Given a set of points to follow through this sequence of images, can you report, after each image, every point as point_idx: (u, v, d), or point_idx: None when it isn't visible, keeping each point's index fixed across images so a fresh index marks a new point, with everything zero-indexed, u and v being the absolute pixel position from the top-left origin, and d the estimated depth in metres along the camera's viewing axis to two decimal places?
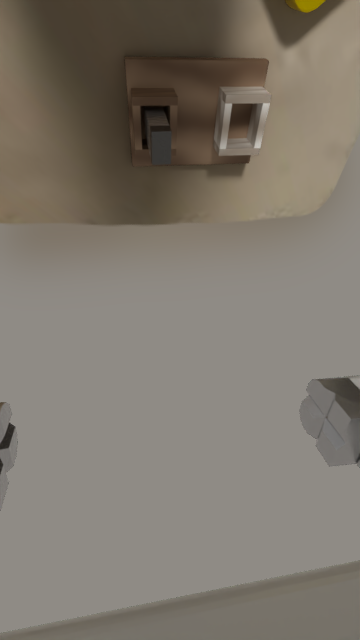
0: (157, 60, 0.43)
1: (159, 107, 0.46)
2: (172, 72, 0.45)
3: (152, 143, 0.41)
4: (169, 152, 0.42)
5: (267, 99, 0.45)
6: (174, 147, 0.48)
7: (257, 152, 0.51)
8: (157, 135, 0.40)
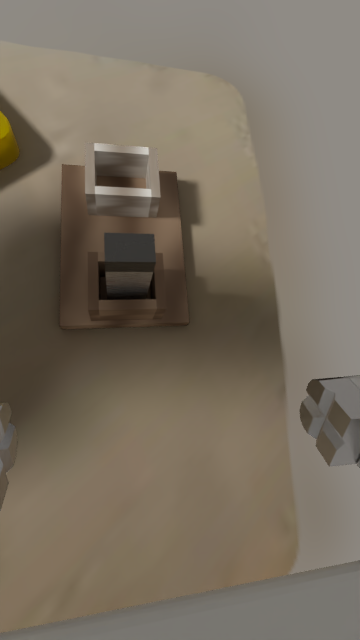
0: (61, 287, 0.35)
1: None
2: (73, 269, 0.36)
3: (123, 261, 0.25)
4: (135, 235, 0.26)
5: (89, 146, 0.36)
6: None
7: (154, 150, 0.37)
8: (110, 252, 0.25)
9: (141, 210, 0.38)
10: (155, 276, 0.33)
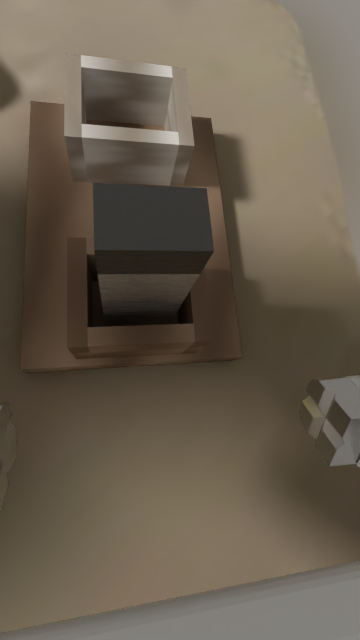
0: (24, 301, 0.20)
1: None
2: (47, 270, 0.21)
3: (137, 248, 0.11)
4: (166, 191, 0.11)
5: (73, 60, 0.21)
6: None
7: (181, 71, 0.22)
8: (107, 229, 0.11)
9: (160, 172, 0.23)
10: None
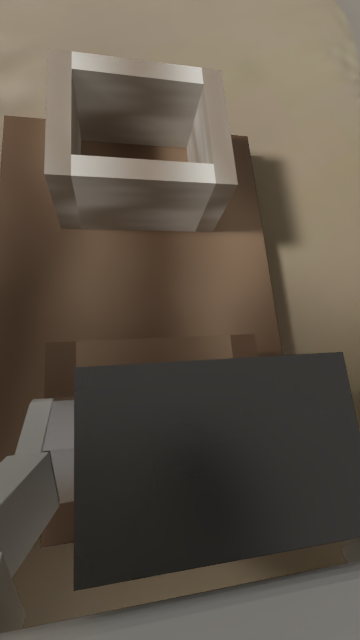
0: None
1: None
2: (21, 366, 0.14)
3: (192, 554, 0.04)
4: (254, 372, 0.05)
5: (59, 58, 0.14)
6: (226, 342, 0.12)
7: (215, 74, 0.16)
8: (112, 510, 0.04)
9: (183, 217, 0.16)
10: None
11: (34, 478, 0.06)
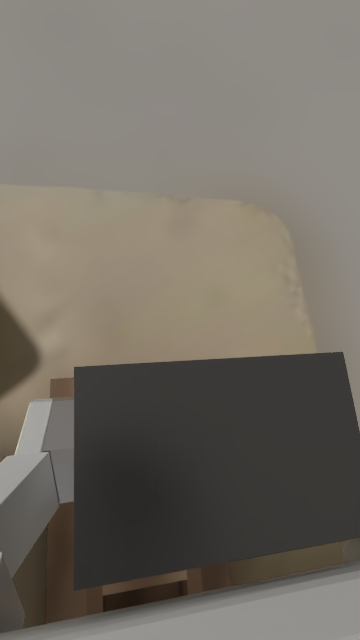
0: (47, 596, 0.24)
1: None
2: (66, 561, 0.24)
3: (192, 554, 0.04)
4: (254, 372, 0.05)
5: None
6: None
7: None
8: (112, 511, 0.04)
9: None
10: None
11: (34, 478, 0.06)
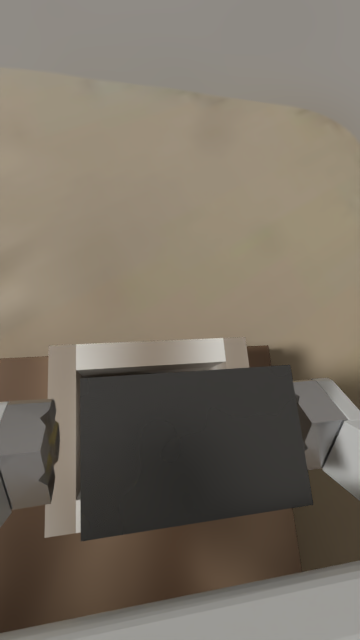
0: None
1: None
2: None
3: (168, 517, 0.05)
4: (219, 381, 0.06)
5: (62, 358, 0.12)
6: None
7: (238, 344, 0.14)
8: (109, 485, 0.05)
9: None
10: None
11: None
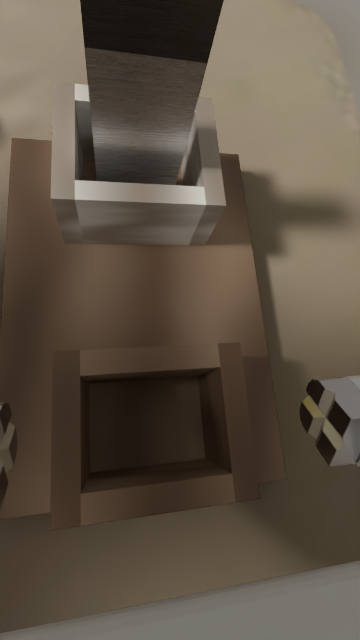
0: None
1: None
2: (29, 370, 0.16)
3: None
4: None
5: (64, 91, 0.16)
6: (214, 350, 0.14)
7: (206, 102, 0.17)
8: None
9: (177, 232, 0.18)
10: (226, 407, 0.13)
11: None
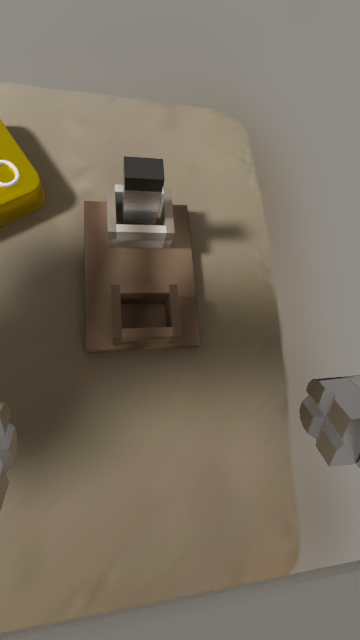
0: (85, 314, 0.39)
1: (122, 210, 0.41)
2: (96, 298, 0.40)
3: (138, 178, 0.33)
4: (148, 159, 0.33)
5: (110, 187, 0.40)
6: (167, 286, 0.38)
7: (168, 189, 0.41)
8: (129, 171, 0.33)
9: (156, 243, 0.42)
10: (171, 306, 0.37)
11: None
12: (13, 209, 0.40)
